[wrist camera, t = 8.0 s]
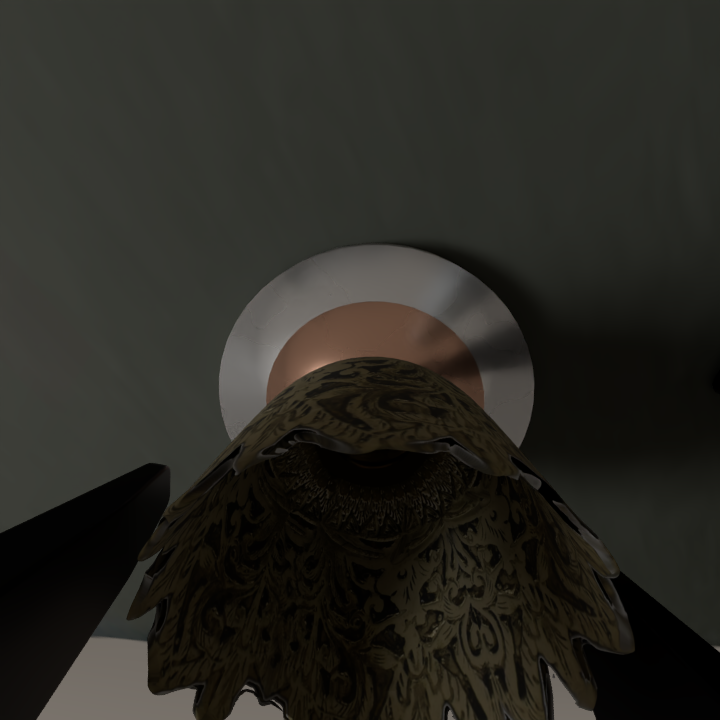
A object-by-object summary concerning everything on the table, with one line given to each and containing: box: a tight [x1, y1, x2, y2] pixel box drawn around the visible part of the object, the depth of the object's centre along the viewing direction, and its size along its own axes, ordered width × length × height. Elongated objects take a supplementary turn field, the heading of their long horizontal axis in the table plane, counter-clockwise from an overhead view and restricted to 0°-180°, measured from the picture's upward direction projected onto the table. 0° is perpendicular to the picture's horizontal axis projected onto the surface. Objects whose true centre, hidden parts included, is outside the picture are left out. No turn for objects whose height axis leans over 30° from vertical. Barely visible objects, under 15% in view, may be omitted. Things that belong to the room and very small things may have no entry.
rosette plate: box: [219, 243, 534, 448], centre depth 14 cm, size 11×11×1 cm
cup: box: [127, 357, 635, 720], centre depth 9 cm, size 8×7×8 cm
